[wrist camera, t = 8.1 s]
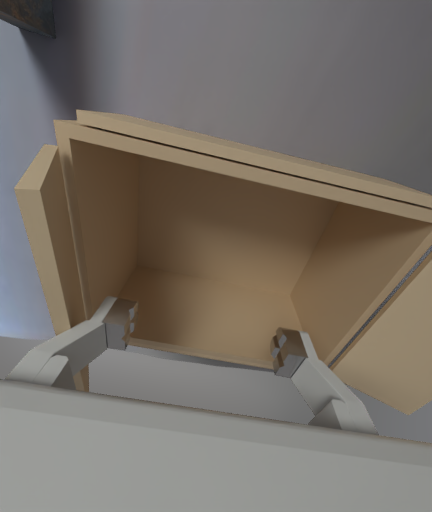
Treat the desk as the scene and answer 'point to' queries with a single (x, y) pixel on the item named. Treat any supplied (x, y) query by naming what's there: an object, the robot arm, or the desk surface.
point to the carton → (231, 238)
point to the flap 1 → (53, 243)
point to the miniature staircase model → (29, 15)
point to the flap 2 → (395, 348)
